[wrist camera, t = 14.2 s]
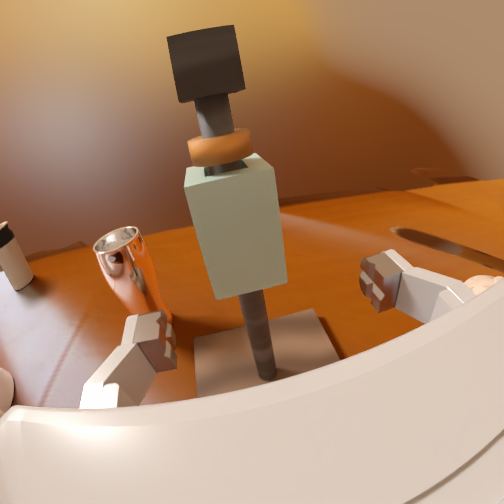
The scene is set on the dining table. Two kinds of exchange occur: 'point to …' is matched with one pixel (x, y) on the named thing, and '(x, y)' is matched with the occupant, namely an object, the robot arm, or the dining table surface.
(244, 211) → the marker sleeve
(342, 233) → the dining table surface
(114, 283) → the beer glass
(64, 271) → the dining table surface
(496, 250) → the dining table surface
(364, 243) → the dining table surface
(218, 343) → the post stand
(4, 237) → the travel mug
